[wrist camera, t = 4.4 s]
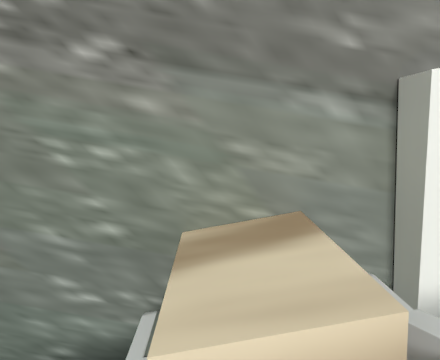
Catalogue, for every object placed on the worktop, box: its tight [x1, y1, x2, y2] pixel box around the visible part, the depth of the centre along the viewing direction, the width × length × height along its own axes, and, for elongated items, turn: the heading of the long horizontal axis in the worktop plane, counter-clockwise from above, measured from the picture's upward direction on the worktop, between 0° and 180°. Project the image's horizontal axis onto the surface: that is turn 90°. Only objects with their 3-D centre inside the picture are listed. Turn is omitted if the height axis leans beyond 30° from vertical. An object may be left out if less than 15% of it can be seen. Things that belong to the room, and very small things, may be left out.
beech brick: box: [147, 211, 409, 360], centre depth 7 cm, size 5×5×5 cm
